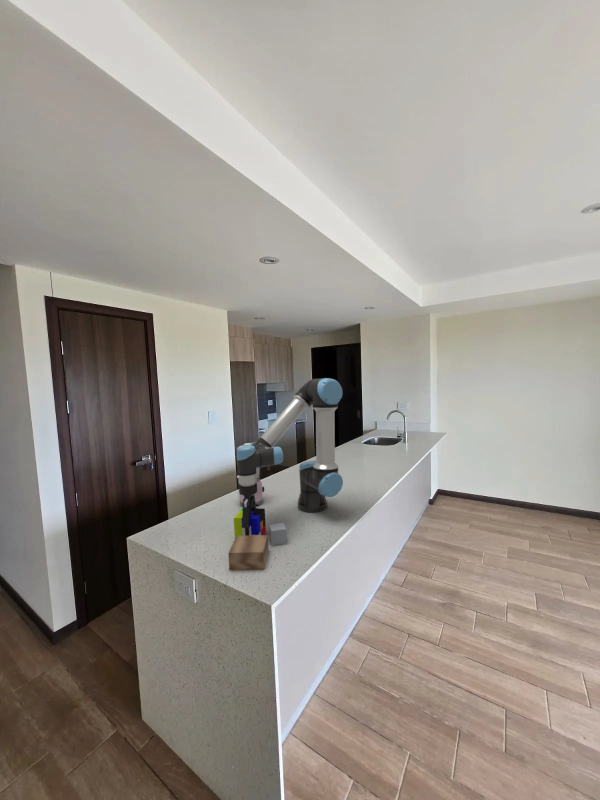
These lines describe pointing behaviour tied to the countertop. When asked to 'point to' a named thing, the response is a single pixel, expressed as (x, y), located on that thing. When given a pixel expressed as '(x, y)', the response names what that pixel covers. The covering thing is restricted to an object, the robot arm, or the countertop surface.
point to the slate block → (277, 534)
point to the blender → (259, 486)
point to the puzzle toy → (251, 522)
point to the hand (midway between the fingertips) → (250, 535)
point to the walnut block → (248, 552)
